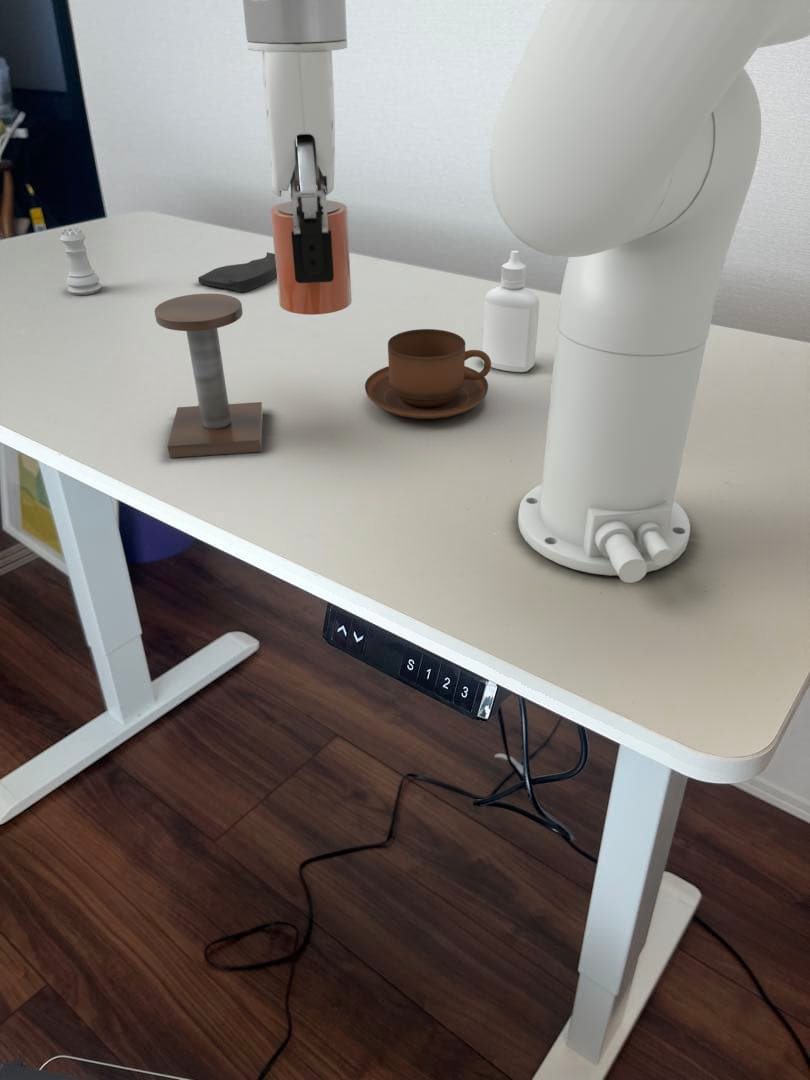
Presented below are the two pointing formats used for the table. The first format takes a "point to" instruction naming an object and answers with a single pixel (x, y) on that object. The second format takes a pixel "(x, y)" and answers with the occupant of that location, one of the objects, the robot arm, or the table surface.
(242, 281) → the fan shaped piece
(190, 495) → the table surface
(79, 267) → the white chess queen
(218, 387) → the cat scratching post
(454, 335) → the cup and saucer
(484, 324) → the eye dropper bottle
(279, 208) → the terracotta cup
